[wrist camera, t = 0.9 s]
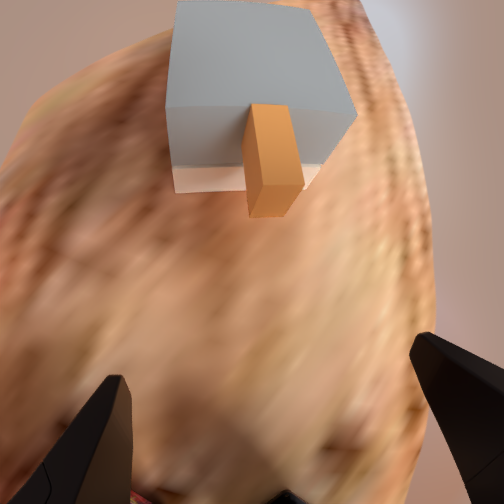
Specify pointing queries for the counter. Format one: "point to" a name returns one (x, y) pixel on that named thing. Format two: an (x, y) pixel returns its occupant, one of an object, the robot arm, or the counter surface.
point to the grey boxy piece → (254, 96)
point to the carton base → (221, 177)
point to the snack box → (138, 499)
